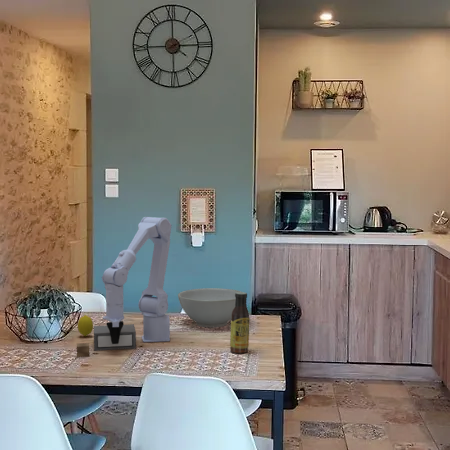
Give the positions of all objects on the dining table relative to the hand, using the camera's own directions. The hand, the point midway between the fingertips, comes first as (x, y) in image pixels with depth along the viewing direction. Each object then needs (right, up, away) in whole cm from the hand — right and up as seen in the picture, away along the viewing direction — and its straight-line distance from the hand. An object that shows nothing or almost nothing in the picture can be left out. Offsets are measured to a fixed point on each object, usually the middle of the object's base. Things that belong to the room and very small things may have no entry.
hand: (115, 343), depth 218 cm
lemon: (-14, -1, +19) cm, 23 cm away
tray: (-1, -1, +6) cm, 6 cm away
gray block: (-1, -2, +7) cm, 7 cm away
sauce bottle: (+42, -3, 0) cm, 42 cm away
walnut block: (-9, -3, -6) cm, 11 cm away
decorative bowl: (+32, 0, +39) cm, 51 cm away
